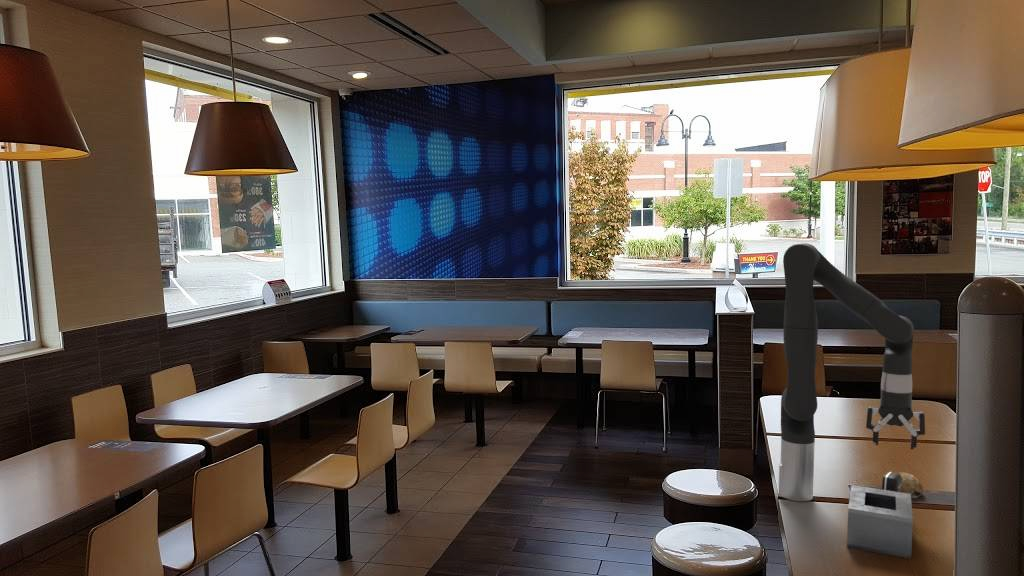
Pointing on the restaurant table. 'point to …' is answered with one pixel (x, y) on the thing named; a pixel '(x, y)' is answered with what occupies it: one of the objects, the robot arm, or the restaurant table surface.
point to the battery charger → (892, 482)
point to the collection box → (880, 521)
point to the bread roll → (911, 485)
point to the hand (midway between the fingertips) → (894, 446)
